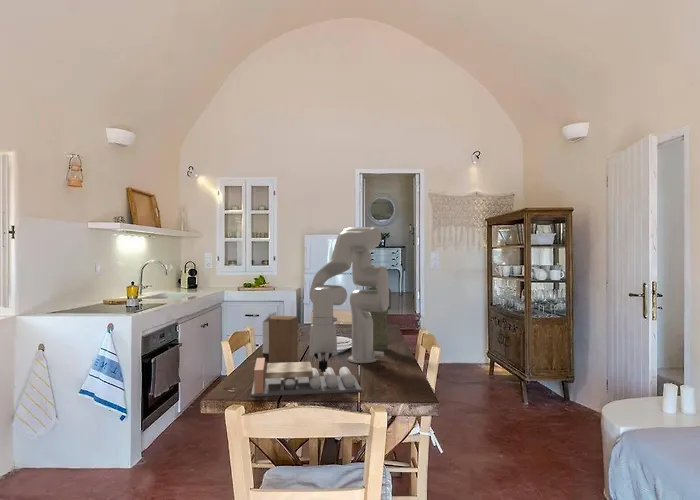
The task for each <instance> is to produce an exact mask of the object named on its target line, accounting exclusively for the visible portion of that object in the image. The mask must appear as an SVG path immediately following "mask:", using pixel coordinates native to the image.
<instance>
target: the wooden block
mask: <svg viewBox="0 0 700 500" xmlns="http://www.w3.org/2000/svg"><path fill="white" fill-rule="evenodd" d="M298 320H299V319H298V316H297V315H278V316H275V317H273V318H270V319H269V354H268V363H286V362H298V352H299V351H298V350H299V349H298V348H299V347H298V343H299V341H298V339H299V338H298V334H299V333H298V331H299V330H298Z"/></svg>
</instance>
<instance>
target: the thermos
mask: <svg viewBox="0 0 700 500" xmlns="http://www.w3.org/2000/svg"><path fill="white" fill-rule="evenodd" d="M367 290H377V289H376V287H368V289H367ZM391 308H392V291H391V288H389V305H388V309H387V310H386V311H384V312H373V311H369V314H370V315H371V317H372V319H373V350H374V351H380V352H385V351H388V349H389V348H388V347H389V346H388V344H389V337H388V313H389V310H391Z"/></svg>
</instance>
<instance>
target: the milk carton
mask: <svg viewBox="0 0 700 500" xmlns="http://www.w3.org/2000/svg"><path fill="white" fill-rule="evenodd" d="M275 316H279V315H278V314H277V312H272V313H269V314H268V315H267V316H266V317H265V318H266V319H264V320H263V321H262V354H268V355H269V319H270V318H273V317H275Z"/></svg>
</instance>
